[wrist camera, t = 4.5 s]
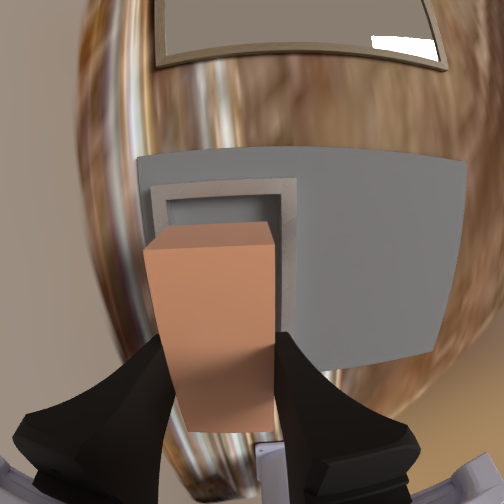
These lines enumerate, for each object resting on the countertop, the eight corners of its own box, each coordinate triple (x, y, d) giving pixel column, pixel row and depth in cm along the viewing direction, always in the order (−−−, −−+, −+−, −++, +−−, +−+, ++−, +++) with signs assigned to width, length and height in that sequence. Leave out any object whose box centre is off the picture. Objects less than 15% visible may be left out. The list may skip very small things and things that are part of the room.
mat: (430, 349, 21) (432, 351, 20) (174, 374, 20) (173, 376, 20) (464, 162, 16) (467, 162, 15) (138, 156, 15) (137, 157, 15)
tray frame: (289, 358, 20) (291, 371, 18) (185, 361, 20) (181, 374, 18) (291, 176, 16) (296, 178, 14) (158, 183, 16) (150, 186, 14)
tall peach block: (267, 221, 11) (274, 244, 8) (268, 388, 14) (273, 431, 11) (167, 226, 11) (142, 250, 8) (195, 389, 14) (187, 431, 11)
